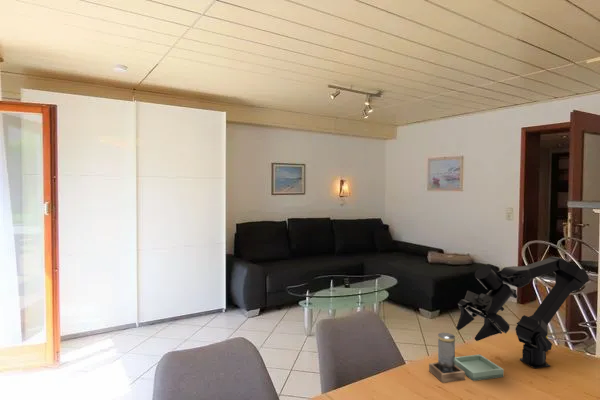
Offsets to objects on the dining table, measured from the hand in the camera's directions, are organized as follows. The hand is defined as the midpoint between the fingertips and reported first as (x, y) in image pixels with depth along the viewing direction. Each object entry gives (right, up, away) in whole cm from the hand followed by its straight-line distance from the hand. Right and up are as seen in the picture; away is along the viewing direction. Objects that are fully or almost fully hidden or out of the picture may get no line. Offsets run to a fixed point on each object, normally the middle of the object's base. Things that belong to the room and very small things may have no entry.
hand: (466, 334), depth 119 cm
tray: (+4, -13, +2) cm, 13 cm away
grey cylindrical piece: (-7, -13, -1) cm, 15 cm away
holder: (-7, -13, -1) cm, 15 cm away
